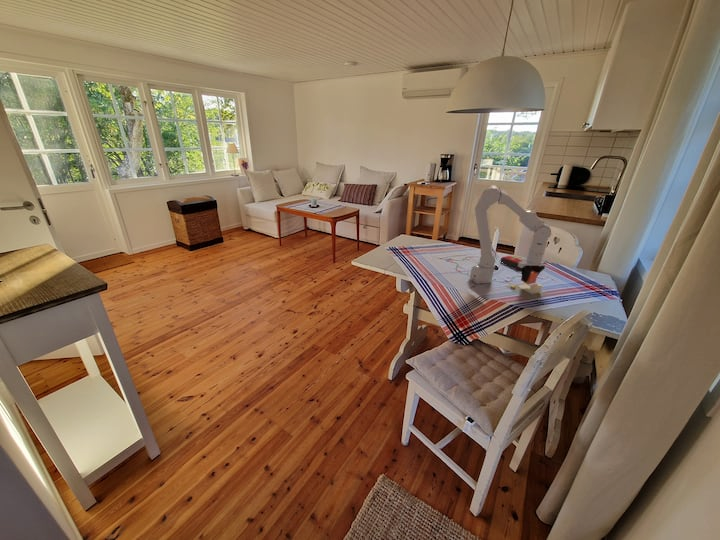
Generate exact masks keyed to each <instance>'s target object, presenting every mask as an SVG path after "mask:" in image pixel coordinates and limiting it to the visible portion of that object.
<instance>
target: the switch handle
mask: <svg viewBox="0 0 720 540" xmlns="http://www.w3.org/2000/svg"><path fill="white" fill-rule="evenodd" d="M530 285H531V287H530V290H529V292H531V293H539V292H540V291H542V287H543V285H542V284H539V283H532V284H530Z"/></svg>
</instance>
